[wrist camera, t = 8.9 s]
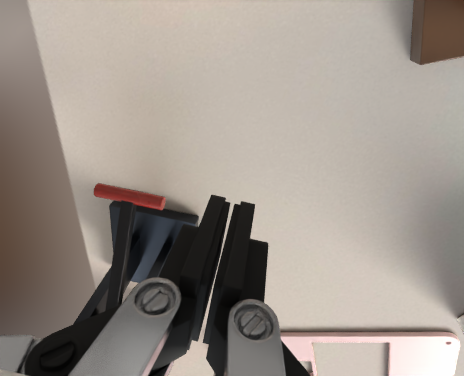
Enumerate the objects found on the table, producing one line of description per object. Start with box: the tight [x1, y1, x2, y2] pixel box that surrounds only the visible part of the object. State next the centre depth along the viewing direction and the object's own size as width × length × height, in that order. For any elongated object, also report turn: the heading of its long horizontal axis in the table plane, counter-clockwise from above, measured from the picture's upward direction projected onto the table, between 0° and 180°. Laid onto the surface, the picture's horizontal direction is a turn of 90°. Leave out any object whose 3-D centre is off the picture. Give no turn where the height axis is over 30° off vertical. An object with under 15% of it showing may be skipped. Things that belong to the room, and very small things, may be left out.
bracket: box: [74, 200, 199, 324], centre depth 33 cm, size 12×10×14 cm
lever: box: [94, 183, 166, 311], centre depth 28 cm, size 15×6×2 cm, turn 172°
